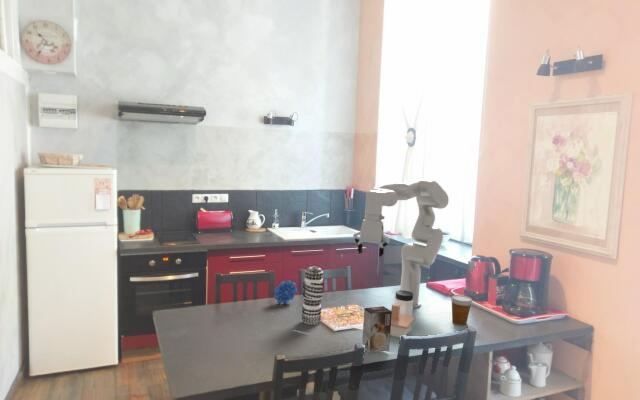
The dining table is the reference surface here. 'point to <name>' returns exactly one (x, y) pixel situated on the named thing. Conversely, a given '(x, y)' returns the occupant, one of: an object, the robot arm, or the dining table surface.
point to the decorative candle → (312, 295)
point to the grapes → (285, 292)
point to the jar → (404, 301)
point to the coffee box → (376, 329)
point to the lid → (400, 318)
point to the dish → (399, 331)
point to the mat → (357, 327)
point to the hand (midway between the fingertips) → (370, 254)
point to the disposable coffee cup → (460, 309)
